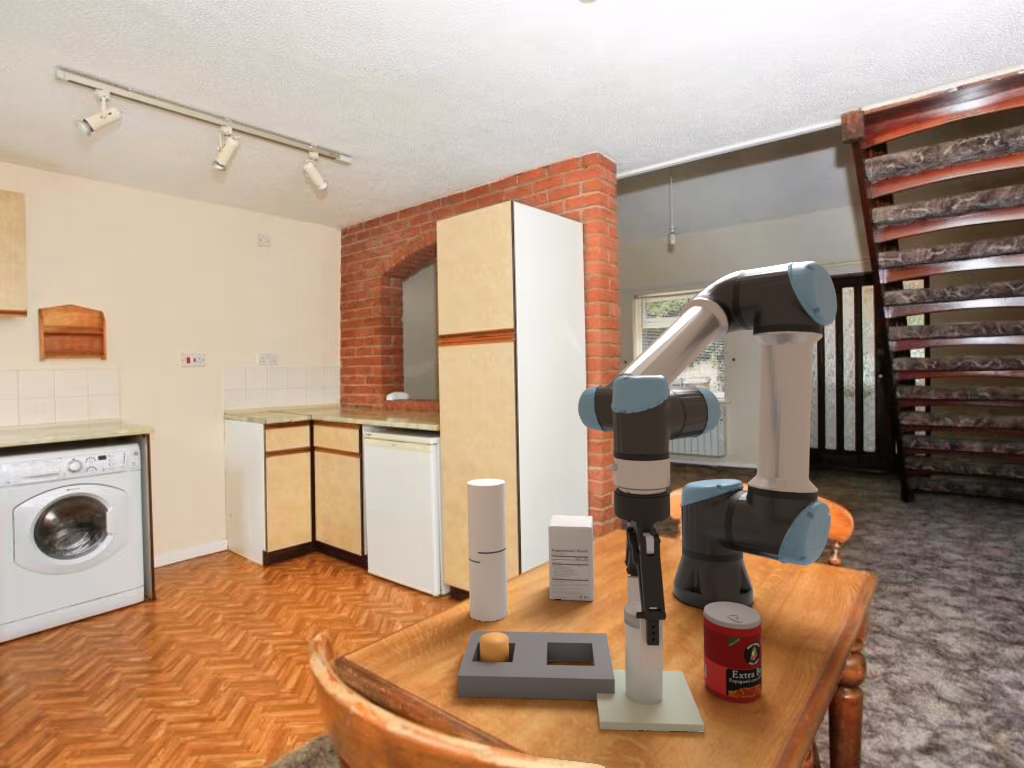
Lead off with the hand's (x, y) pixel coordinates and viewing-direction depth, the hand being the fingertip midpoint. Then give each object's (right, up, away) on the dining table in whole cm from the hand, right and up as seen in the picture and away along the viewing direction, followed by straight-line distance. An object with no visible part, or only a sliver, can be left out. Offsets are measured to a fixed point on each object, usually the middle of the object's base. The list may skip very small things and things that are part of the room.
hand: (643, 641), depth 80 cm
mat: (0, -8, 0) cm, 8 cm away
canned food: (+13, -8, +3) cm, 16 cm away
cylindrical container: (-23, -8, +30) cm, 38 cm away
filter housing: (-14, -8, +8) cm, 19 cm away
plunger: (-21, -7, +9) cm, 24 cm away
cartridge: (0, -7, 0) cm, 7 cm away
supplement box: (-6, -8, +40) cm, 41 cm away
